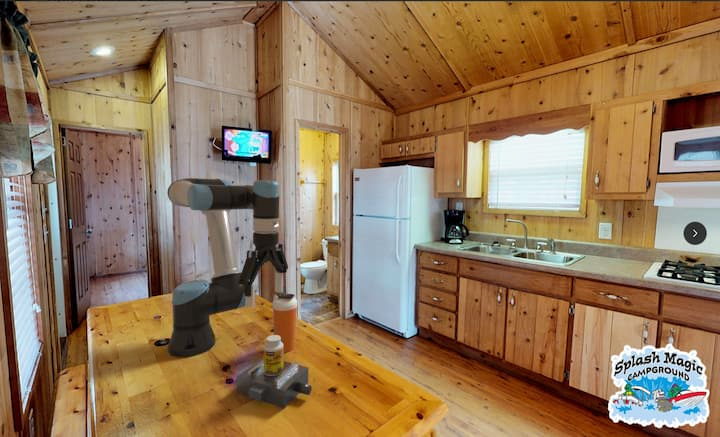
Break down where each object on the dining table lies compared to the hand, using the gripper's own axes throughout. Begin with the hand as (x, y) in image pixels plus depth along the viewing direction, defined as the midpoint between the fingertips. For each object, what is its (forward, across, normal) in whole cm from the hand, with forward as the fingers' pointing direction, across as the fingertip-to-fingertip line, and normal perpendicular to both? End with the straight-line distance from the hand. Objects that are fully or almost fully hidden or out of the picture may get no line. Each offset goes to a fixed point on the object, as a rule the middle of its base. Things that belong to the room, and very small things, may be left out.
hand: (265, 298), depth 98 cm
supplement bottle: (+18, -6, -8) cm, 21 cm away
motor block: (+23, -7, -11) cm, 27 cm away
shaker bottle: (+24, +14, +3) cm, 28 cm away
